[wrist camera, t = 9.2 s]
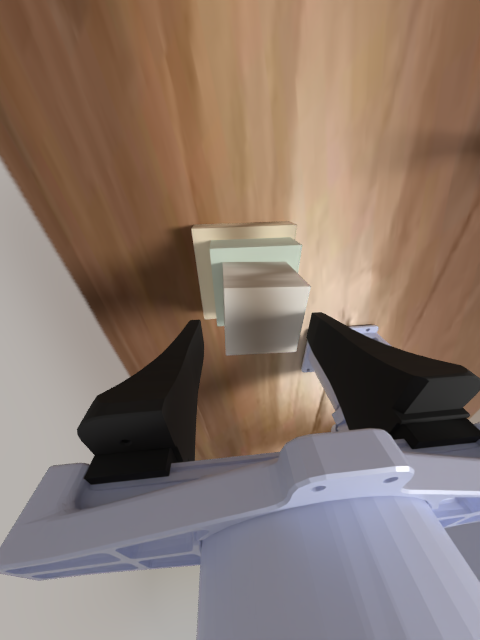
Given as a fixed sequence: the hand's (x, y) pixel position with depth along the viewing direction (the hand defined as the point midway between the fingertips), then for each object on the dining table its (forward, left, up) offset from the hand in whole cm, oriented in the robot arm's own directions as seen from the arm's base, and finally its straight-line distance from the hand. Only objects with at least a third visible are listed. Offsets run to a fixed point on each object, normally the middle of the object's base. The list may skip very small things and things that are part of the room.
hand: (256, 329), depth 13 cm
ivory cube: (0, 0, -5) cm, 5 cm away
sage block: (-1, -1, -8) cm, 8 cm away
